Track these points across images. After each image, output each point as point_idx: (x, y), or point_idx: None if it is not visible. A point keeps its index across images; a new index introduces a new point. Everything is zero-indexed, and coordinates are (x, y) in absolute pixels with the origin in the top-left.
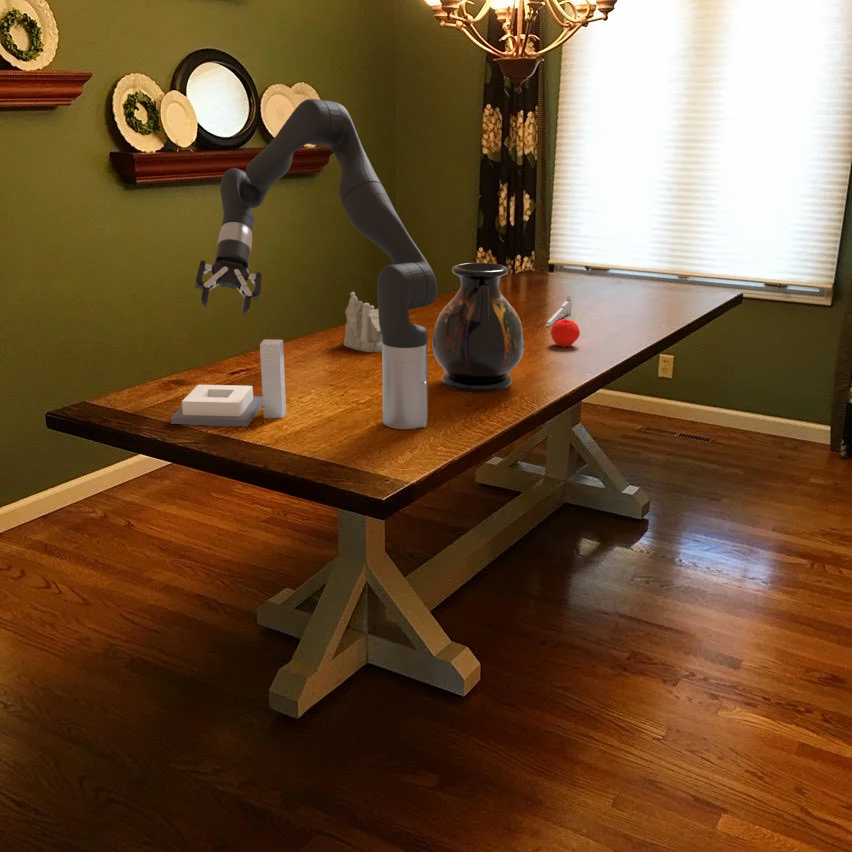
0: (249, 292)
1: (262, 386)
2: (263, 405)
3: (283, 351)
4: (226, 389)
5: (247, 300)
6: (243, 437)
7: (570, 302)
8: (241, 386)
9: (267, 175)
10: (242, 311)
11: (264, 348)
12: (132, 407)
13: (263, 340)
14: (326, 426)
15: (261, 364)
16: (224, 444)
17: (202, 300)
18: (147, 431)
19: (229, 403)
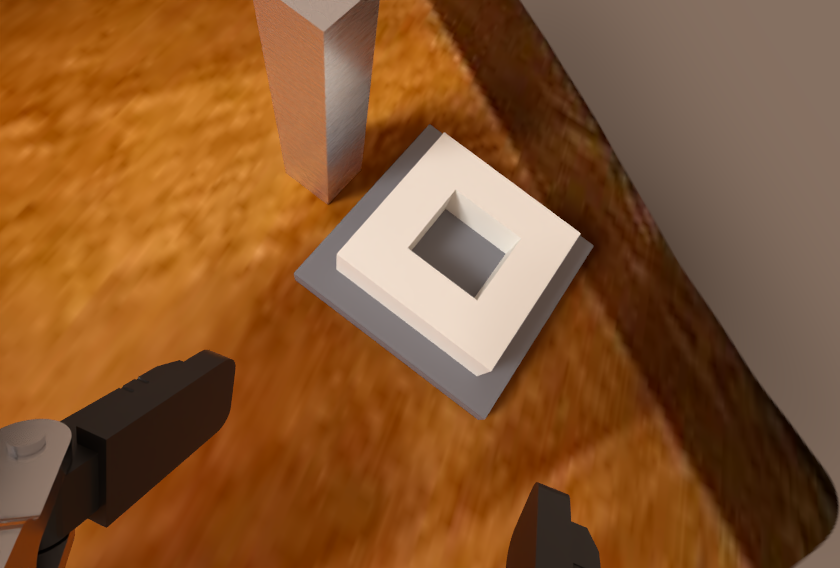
0: (9, 446)
1: (366, 111)
2: (362, 149)
3: (258, 25)
4: (428, 265)
5: (123, 399)
6: (461, 85)
7: None
8: (371, 268)
9: None
10: (226, 390)
11: None
12: (649, 458)
13: (336, 19)
14: None
15: (372, 54)
16: (511, 75)
17: (580, 528)
18: (640, 241)
19: (466, 151)
